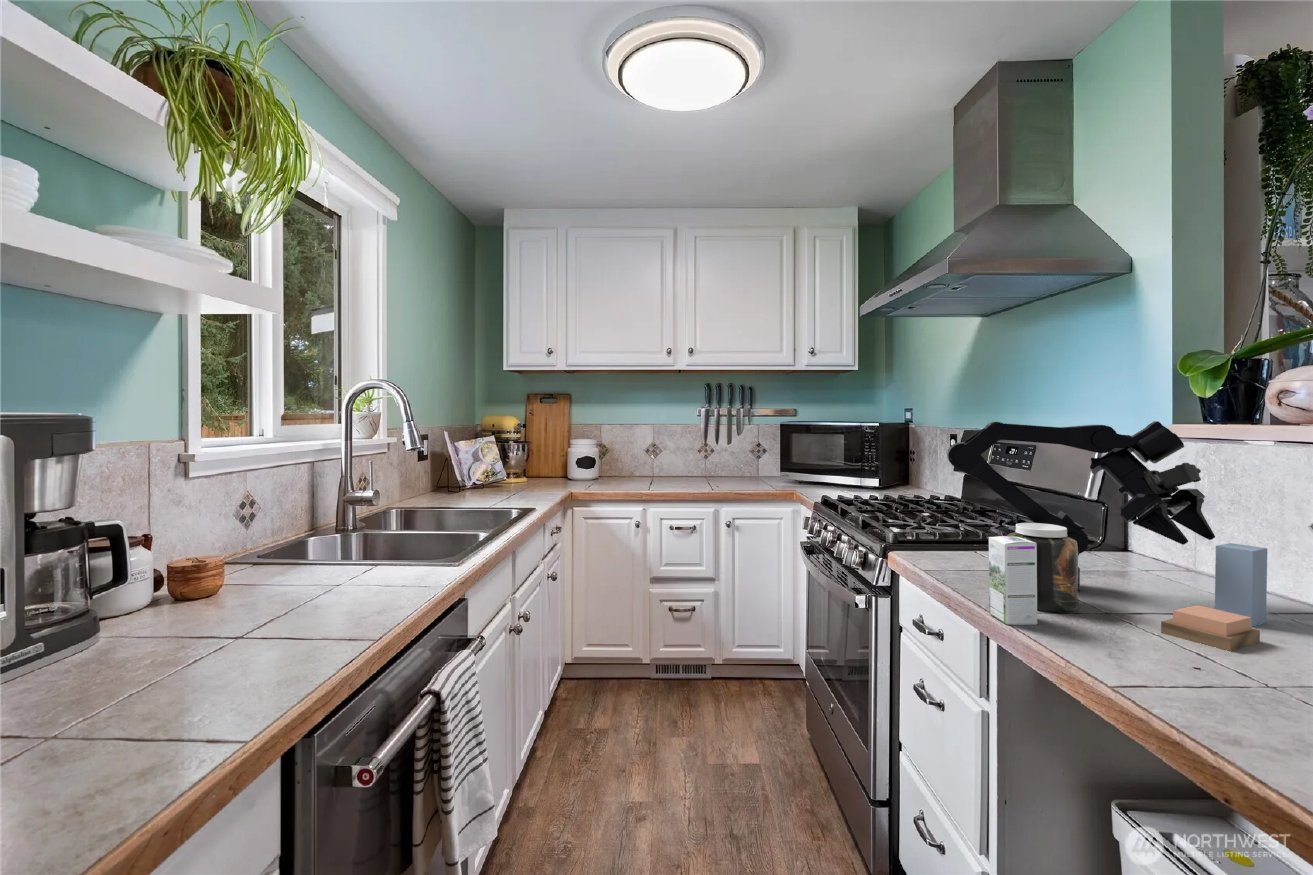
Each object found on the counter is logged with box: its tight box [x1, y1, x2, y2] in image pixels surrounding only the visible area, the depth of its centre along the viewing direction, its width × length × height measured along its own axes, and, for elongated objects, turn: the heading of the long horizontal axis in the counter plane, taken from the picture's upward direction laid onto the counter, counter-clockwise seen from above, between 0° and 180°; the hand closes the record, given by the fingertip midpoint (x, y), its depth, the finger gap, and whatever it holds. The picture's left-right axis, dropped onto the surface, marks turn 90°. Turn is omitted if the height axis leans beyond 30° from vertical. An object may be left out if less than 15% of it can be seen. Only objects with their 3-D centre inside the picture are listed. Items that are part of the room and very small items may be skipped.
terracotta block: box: [1172, 604, 1252, 636], centre depth 98 cm, size 7×7×2 cm
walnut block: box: [1160, 617, 1261, 653], centre depth 98 cm, size 9×9×2 cm
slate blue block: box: [1214, 542, 1268, 628], centre depth 106 cm, size 5×5×13 cm
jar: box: [1006, 522, 1079, 613], centre depth 117 cm, size 12×12×15 cm
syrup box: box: [988, 535, 1038, 626], centre depth 108 cm, size 6×6×14 cm
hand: (1199, 540), depth 111 cm, fingers open, 9 cm apart
